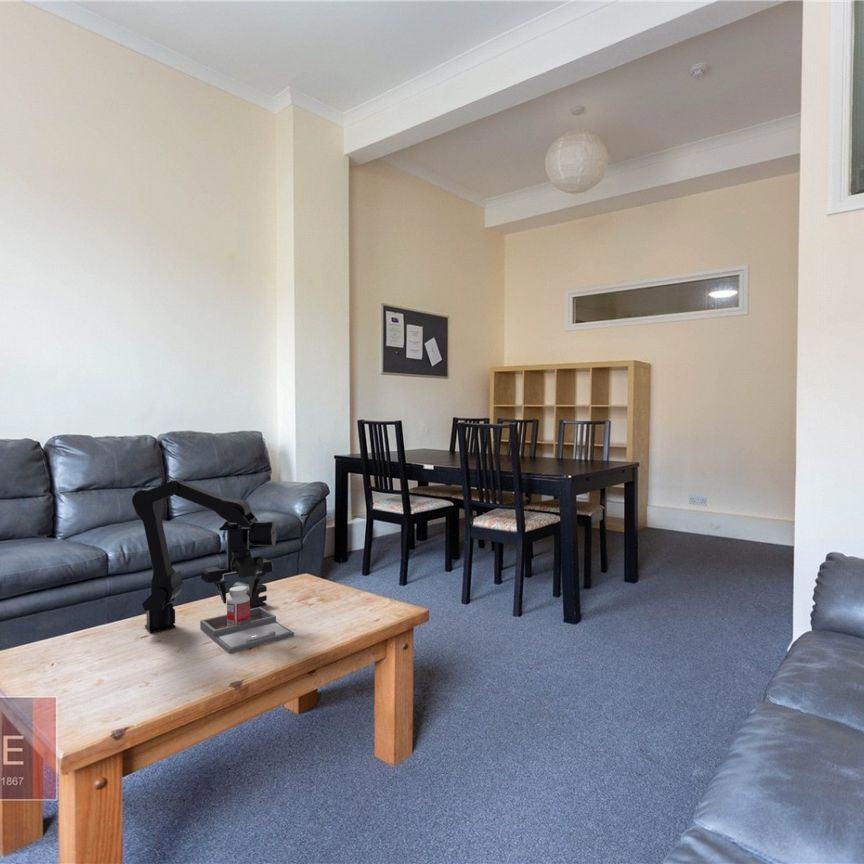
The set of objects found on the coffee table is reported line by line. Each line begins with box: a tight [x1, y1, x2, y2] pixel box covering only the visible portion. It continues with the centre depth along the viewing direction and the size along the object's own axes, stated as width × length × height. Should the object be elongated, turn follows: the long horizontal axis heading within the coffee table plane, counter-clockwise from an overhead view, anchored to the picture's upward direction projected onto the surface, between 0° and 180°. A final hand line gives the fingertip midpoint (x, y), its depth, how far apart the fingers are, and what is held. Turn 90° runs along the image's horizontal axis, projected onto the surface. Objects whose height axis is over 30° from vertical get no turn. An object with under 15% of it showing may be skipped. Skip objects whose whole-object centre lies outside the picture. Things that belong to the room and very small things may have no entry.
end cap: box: [231, 581, 268, 609], centre depth 179 cm, size 10×7×7 cm
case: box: [199, 606, 277, 641], centre depth 160 cm, size 18×11×3 cm, turn 131°
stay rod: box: [245, 631, 276, 642], centre depth 148 cm, size 8×1×1 cm, turn 131°
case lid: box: [213, 620, 295, 654], centre depth 151 cm, size 18×11×1 cm, turn 131°
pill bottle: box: [226, 586, 251, 627], centre depth 159 cm, size 6×6×11 cm
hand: (238, 600), depth 159 cm, fingers open, 7 cm apart
